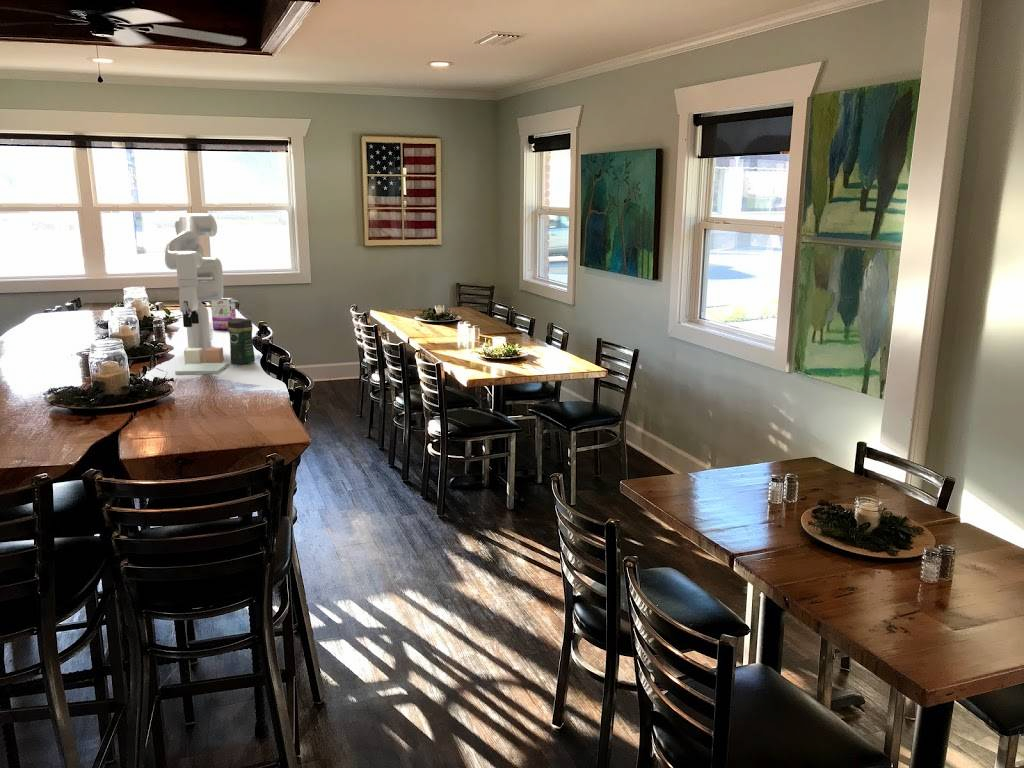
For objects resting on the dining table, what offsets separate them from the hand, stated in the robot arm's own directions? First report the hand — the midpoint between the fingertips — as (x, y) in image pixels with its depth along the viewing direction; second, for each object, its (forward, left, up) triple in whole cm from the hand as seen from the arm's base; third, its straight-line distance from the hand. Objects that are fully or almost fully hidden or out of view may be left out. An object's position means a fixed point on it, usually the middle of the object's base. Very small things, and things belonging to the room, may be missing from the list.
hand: (191, 325), depth 330 cm
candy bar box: (-91, -10, -16) cm, 93 cm away
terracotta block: (0, +8, -16) cm, 18 cm away
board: (+14, +7, -16) cm, 22 cm away
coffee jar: (0, +19, -16) cm, 25 cm away
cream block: (0, 0, -16) cm, 16 cm away
